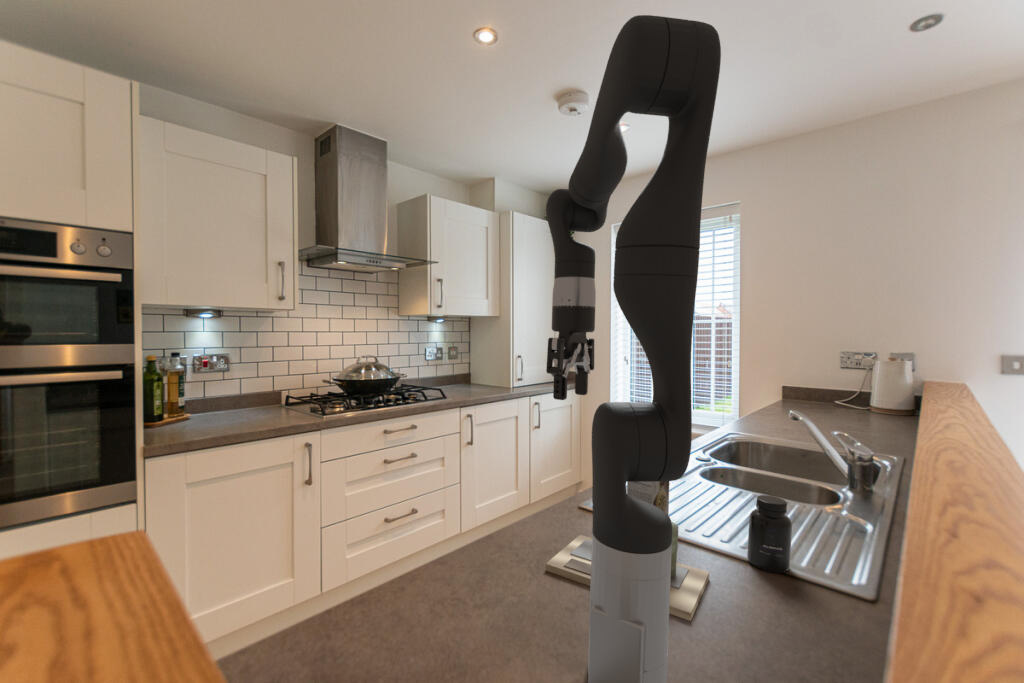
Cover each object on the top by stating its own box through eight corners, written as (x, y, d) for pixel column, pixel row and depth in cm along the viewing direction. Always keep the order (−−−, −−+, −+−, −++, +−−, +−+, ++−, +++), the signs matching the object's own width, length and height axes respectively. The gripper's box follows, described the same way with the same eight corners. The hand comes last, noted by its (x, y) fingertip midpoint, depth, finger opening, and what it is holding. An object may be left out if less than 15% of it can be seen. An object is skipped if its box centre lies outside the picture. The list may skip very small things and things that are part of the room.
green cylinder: (673, 581, 75) (676, 533, 75) (646, 574, 77) (648, 527, 77) (677, 568, 79) (680, 523, 79) (651, 561, 81) (653, 517, 81)
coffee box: (642, 511, 108) (644, 442, 108) (669, 518, 104) (671, 447, 104) (624, 523, 101) (627, 449, 101) (653, 531, 97) (655, 455, 97)
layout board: (690, 621, 67) (691, 611, 67) (545, 570, 80) (545, 562, 80) (708, 578, 79) (709, 570, 79) (579, 540, 92) (579, 533, 92)
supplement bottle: (767, 576, 80) (770, 507, 80) (738, 557, 87) (741, 494, 87) (799, 571, 82) (802, 504, 82) (768, 553, 89) (771, 491, 89)
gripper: (575, 302, 73) (572, 404, 74) (609, 307, 85) (606, 395, 86) (534, 302, 77) (532, 399, 78) (571, 307, 89) (569, 391, 90)
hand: (571, 396), depth 82 cm, fingers open, 8 cm apart
